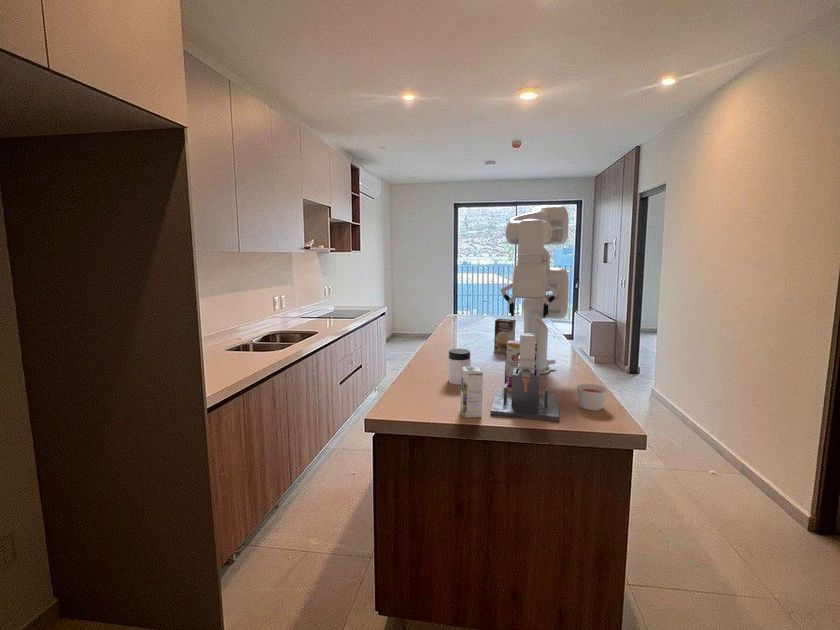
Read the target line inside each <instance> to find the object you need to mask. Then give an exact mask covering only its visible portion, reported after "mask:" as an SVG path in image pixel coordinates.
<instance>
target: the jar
mask: <svg viewBox="0 0 840 630" xmlns="http://www.w3.org/2000/svg"><path fill="white" fill-rule="evenodd" d="M447 358H448V359H447V360H448V362H447V363H448V365H447V366H448V369H447V371H448V372H447V373H448V376H447V377H448V379H447V380H448V382H449V384H450V385H457V386H461V376H462V367H466V366H471V365H472V364H471V363H472V362H471V350H469V349H466V348H452V349H450V350H449V349H448V357H447Z"/></svg>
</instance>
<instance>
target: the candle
mask: <svg viewBox="0 0 840 630" xmlns="http://www.w3.org/2000/svg"><path fill="white" fill-rule="evenodd" d="M576 391H577V397H578V405H579V407H580V408H581V409H584V410H587V411H592V412H593V411H601V410H602V409H603V407H604V405H605V404H604V403H605V400H606V397H607V392H608V389H607V387H605V386H603V385H599V384H595V383H580V384H578V385H576Z"/></svg>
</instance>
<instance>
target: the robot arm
mask: <svg viewBox="0 0 840 630" xmlns="http://www.w3.org/2000/svg"><path fill="white" fill-rule="evenodd" d="M568 237H569V213H568V210H567V208H566V207H565V206H563V205H539V206H535V207H532V208H531V209H530V210H529V211H528V212H527V213H525V214H522V215H517V216H514V217H512V218H511V219H509V221H508V223H507V225H506V228H505V239H506V241H507V243H508V244H510V245H514V246H515V245H516V246H518V247H517V264H516V265H515V266H514V269H513V270H514V271H513V275H512V276H513V277H512V283H511V284H509V285H506V286H504V287H502V288H500V292H501V295H502V297H503V299H504V300H506V302H507V303H508V305H509V306H508V314H510V317H514V316H515V302H514V301H515V300H516V299H517V298H520V299H523V300H522V311H523V333H535V343H538V353H537V369H538V370H540V375H544V374H548V373H550V372H551V367H549V366H550V365H555V364H556V363H557V361H556V359H549V358H548V336H549V329H548V326H547V324H546V323H545V322H544V320H543V319H550V320H551V319H555V320H560V319H565V318H566V317H567V314H568V308H569V307H568V306H569V289H570V288H569V285H570V284H569V281H570V279H569V273H568V271H567V269H565V268H562V267H551V254H550V253H549V251H548V250H547V249H546V247H545V245H546V246H547V245H550V246H554V245H556V246H557V245H558V246H559V245H560V246H561V245H563V244H565V243H566V242H567V241H568ZM511 289H512V290H511ZM509 290H511V293H512V296H511V297H510V296H509V295H508V294H507V292H508V291H509ZM547 292H551V293H552V294H547Z"/></svg>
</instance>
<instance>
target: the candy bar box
mask: <svg viewBox="0 0 840 630" xmlns="http://www.w3.org/2000/svg"><path fill="white" fill-rule="evenodd" d="M537 353H538V343H535V347H534V356H535V362H534V363H535V369H537ZM519 355H520V340H515V341H507V343H506V354H505V363H504V385H505V384H507V387H512V374H513V370H514V368H518V365H519V361H518V358H519Z"/></svg>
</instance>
